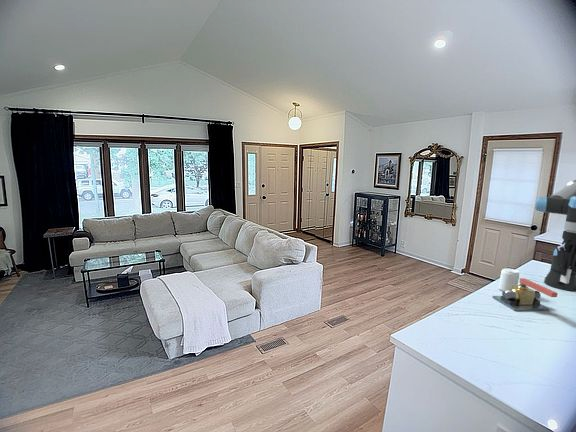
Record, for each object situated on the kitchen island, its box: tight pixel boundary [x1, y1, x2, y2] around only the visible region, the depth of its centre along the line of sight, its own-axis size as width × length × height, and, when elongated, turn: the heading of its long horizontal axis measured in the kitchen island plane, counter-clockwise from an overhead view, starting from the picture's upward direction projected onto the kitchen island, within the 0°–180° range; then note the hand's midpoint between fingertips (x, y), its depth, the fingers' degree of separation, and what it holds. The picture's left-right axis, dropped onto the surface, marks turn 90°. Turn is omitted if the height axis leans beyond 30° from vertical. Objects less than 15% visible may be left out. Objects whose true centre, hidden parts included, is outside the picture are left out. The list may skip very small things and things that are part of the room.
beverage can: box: [498, 267, 520, 292], centre depth 166 cm, size 8×8×12 cm
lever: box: [518, 277, 558, 298], centre depth 142 cm, size 17×3×4 cm, turn 5°
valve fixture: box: [492, 284, 550, 312], centre depth 150 cm, size 18×14×10 cm
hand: (564, 282), depth 136 cm, fingers closed
